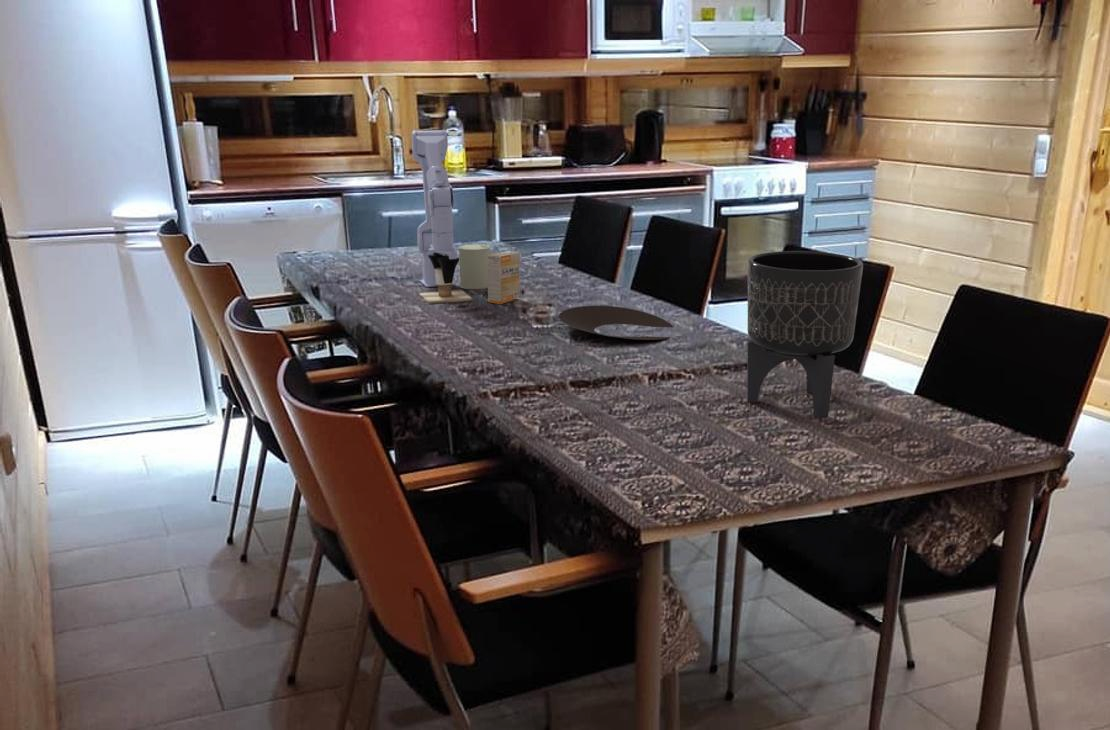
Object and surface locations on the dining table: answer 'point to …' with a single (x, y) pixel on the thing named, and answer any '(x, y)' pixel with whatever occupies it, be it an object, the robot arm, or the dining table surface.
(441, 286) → the square wooden board
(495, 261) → the supplement box
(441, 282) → the cap
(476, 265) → the can
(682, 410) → the dining table surface
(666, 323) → the plate
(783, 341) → the planter
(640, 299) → the dining table surface
